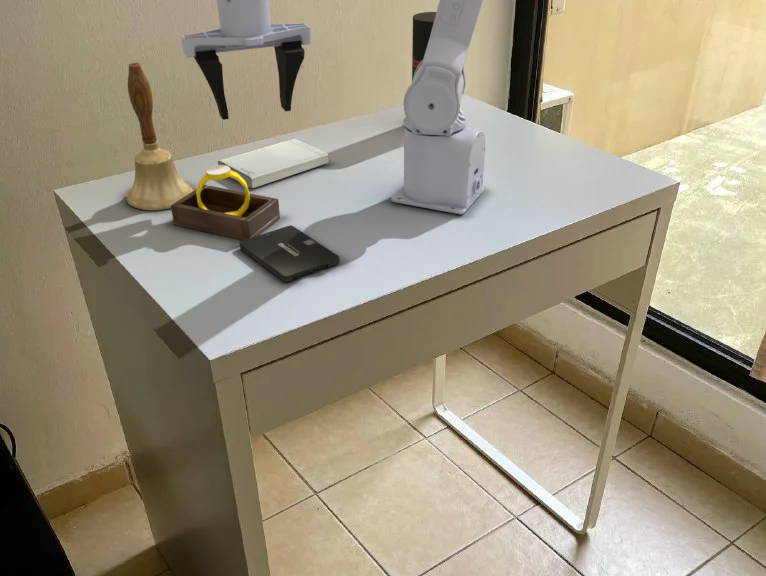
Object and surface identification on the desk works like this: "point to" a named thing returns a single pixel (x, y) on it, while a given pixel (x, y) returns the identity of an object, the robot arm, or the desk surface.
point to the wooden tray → (220, 202)
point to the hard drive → (275, 162)
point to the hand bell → (151, 154)
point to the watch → (218, 174)
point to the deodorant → (421, 36)
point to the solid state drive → (288, 252)
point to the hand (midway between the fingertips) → (255, 112)
